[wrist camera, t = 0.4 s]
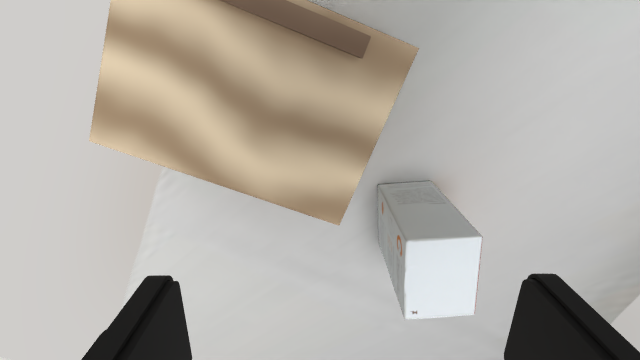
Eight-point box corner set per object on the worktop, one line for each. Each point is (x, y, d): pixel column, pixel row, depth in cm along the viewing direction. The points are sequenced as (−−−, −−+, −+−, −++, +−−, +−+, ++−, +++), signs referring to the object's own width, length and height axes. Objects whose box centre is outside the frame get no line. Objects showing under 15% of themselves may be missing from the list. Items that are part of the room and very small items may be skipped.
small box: (429, 240, 42) (476, 317, 30) (377, 244, 42) (403, 322, 30) (432, 178, 39) (484, 235, 27) (376, 182, 39) (404, 241, 27)
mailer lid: (129, -75, 24) (101, -94, 21) (416, 48, 27) (429, 47, 24) (94, 138, 29) (68, 149, 26) (338, 221, 32) (340, 239, 29)
